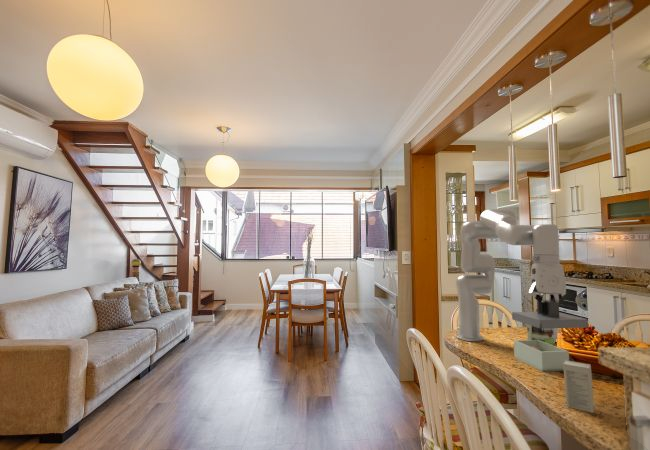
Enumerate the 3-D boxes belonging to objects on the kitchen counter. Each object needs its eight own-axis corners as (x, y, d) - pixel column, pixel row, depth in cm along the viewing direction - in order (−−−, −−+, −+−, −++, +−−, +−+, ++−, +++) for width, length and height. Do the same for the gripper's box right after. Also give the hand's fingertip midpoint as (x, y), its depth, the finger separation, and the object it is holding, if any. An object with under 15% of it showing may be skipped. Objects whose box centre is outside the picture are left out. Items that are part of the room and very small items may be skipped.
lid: (540, 328, 104) (539, 304, 104) (512, 319, 117) (511, 298, 117) (588, 327, 106) (587, 303, 106) (555, 318, 118) (554, 297, 119)
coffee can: (560, 352, 142) (559, 319, 142) (542, 354, 139) (540, 321, 140) (539, 345, 151) (538, 314, 152) (521, 347, 149) (520, 316, 150)
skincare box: (594, 408, 93) (592, 364, 94) (593, 414, 90) (591, 368, 90) (566, 400, 97) (564, 359, 98) (564, 406, 94) (563, 362, 95)
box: (514, 357, 135) (513, 340, 135) (538, 356, 136) (538, 339, 136) (542, 371, 120) (541, 352, 120) (569, 370, 121) (568, 351, 121)
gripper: (532, 260, 108) (534, 316, 107) (577, 260, 110) (579, 315, 108) (516, 259, 115) (518, 312, 114) (558, 259, 117) (560, 311, 116)
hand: (548, 313), depth 111 cm, fingers closed on lid, 3 cm apart
